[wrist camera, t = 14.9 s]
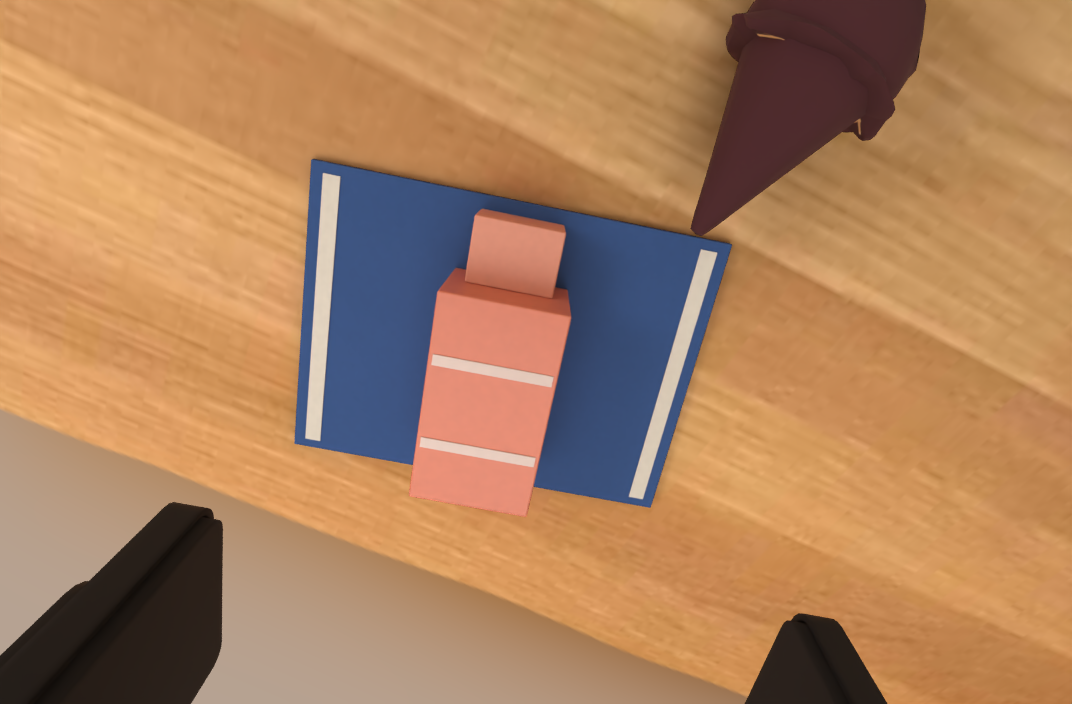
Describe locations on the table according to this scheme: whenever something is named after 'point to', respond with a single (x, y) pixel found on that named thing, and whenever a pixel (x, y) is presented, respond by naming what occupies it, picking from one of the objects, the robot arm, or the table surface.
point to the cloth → (408, 311)
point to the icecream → (804, 88)
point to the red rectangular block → (493, 367)
